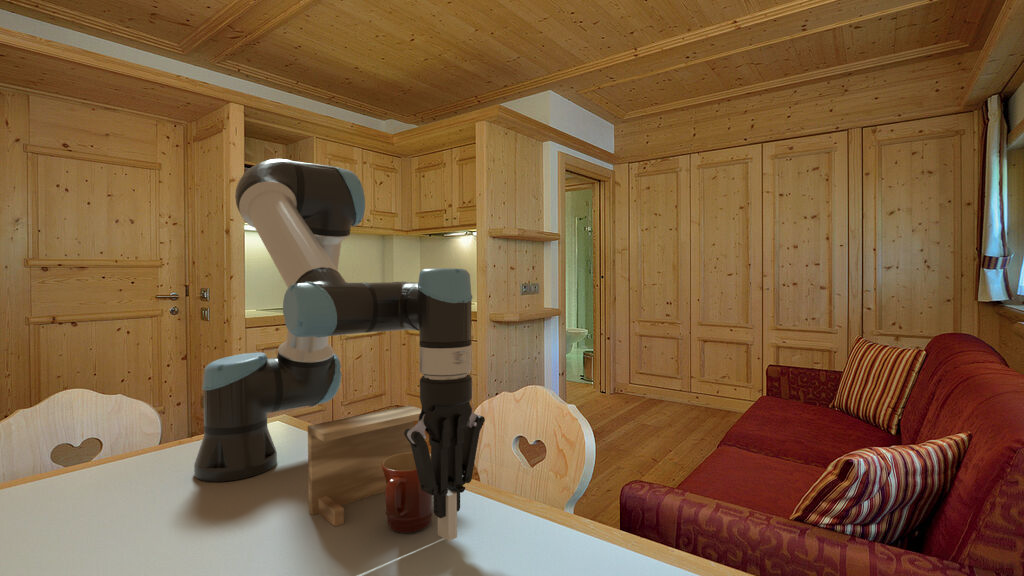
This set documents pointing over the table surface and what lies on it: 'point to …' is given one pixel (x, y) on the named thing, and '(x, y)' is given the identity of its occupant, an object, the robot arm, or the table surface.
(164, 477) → the table surface
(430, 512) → the mug
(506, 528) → the table surface
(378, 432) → the wooden standing sign
